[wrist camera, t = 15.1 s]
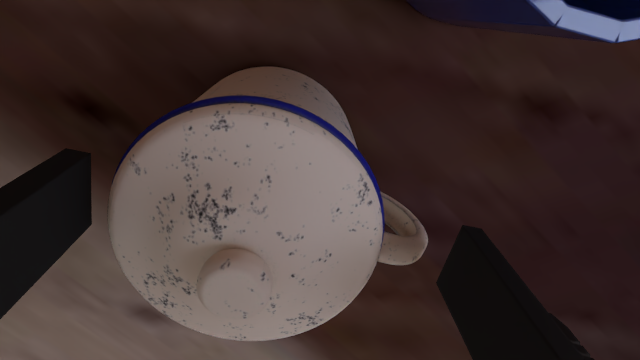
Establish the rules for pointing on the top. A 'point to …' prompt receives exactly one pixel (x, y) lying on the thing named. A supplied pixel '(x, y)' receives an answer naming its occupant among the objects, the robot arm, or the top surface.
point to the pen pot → (542, 17)
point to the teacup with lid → (254, 210)
